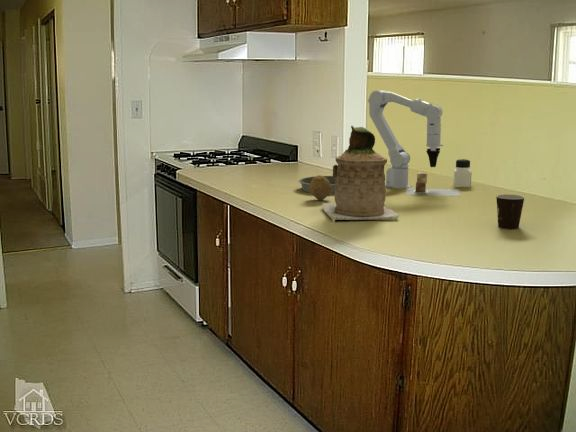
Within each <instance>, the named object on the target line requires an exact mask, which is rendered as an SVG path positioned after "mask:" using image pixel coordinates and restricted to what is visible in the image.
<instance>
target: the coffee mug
mask: <svg viewBox="0 0 576 432" xmlns="http://www.w3.org/2000/svg"><path fill="white" fill-rule="evenodd" d="M495 199H496V214H497V216H496V217H497V227H498V228H501V229H503V230H504V229H505V230H517V229H519V228H520V223H521V218H522V213H523V207H524V201H525V196H523V195H520V194H519V195H518V194H510V193H509V194H508V193H507V194H497V195H496V196H495Z"/></svg>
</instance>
